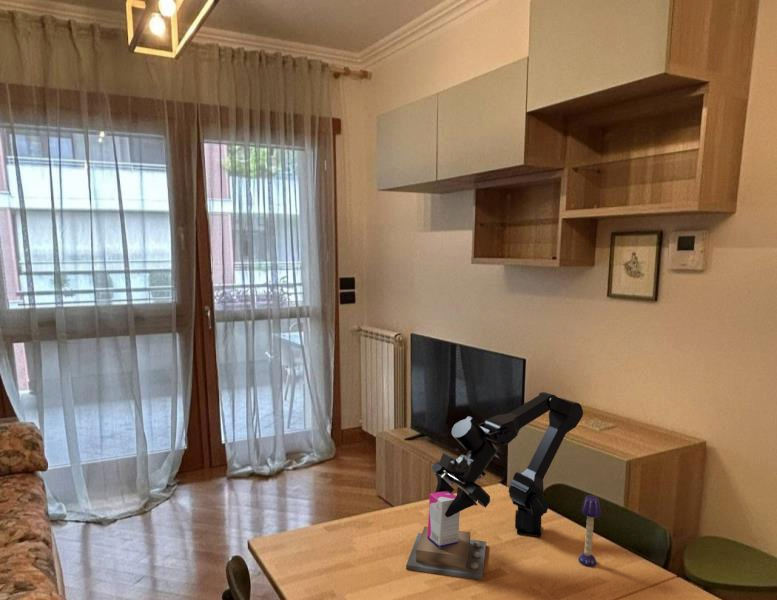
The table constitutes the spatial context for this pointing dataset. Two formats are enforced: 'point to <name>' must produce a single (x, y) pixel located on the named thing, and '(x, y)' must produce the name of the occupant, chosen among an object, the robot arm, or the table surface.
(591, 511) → the toy lamp
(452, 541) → the supplement box
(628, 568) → the table surface
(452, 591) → the table surface
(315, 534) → the table surface
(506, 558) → the table surface
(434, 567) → the walnut brick base
